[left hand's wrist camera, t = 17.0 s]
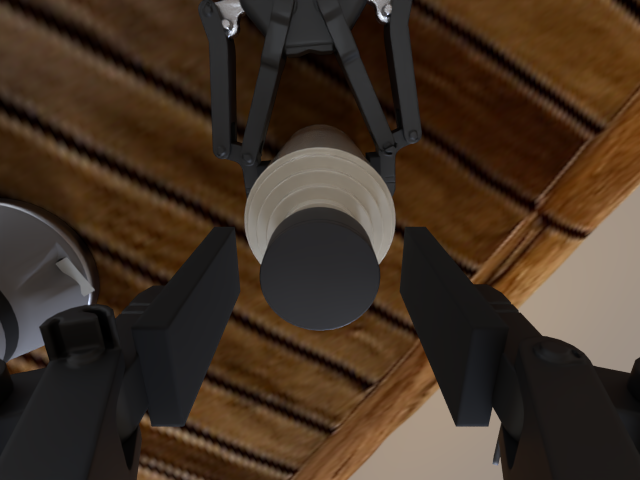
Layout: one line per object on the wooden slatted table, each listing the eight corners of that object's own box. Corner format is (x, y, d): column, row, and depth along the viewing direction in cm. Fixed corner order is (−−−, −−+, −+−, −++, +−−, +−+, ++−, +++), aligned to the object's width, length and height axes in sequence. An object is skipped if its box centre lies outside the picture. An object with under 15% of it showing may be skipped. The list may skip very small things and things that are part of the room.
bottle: (372, 186, 35) (452, 317, 14) (301, 217, 36) (274, 383, 15) (341, 109, 32) (379, 128, 11) (265, 146, 34) (174, 223, 13)
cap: (296, 187, 13) (293, 200, 12) (393, 237, 14) (403, 256, 12) (249, 277, 15) (240, 301, 13) (340, 319, 15) (343, 347, 14)
